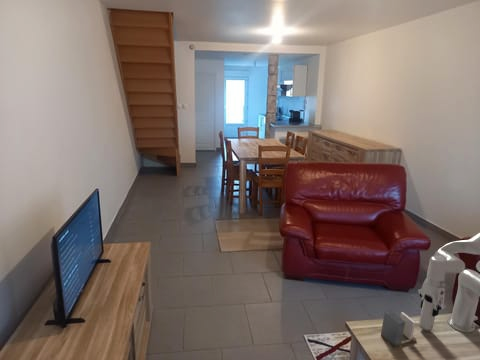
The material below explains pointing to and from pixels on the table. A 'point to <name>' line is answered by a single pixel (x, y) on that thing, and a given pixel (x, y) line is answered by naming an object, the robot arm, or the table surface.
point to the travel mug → (427, 314)
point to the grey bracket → (394, 330)
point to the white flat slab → (408, 326)
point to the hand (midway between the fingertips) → (429, 311)
